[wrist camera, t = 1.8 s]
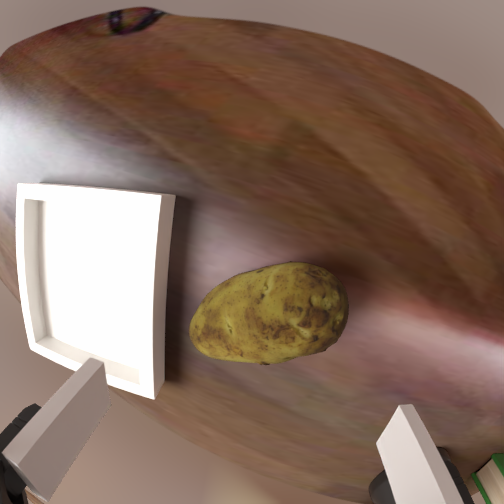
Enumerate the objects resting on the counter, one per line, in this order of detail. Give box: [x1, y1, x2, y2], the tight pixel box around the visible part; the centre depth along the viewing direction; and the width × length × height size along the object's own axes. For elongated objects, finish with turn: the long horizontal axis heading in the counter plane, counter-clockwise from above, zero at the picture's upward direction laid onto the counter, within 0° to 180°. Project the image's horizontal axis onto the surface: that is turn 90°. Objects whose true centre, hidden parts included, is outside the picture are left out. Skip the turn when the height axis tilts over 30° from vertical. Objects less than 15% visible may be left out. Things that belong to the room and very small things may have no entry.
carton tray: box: [16, 183, 176, 399], centre depth 25 cm, size 20×18×4 cm
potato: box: [189, 261, 349, 365], centre depth 22 cm, size 8×13×8 cm, turn 95°
